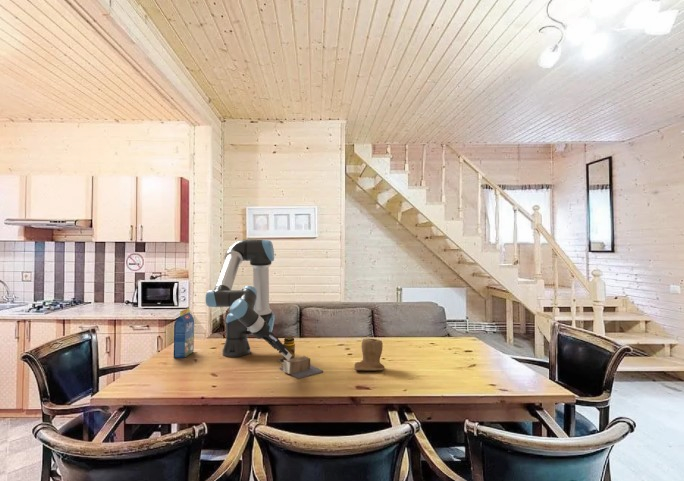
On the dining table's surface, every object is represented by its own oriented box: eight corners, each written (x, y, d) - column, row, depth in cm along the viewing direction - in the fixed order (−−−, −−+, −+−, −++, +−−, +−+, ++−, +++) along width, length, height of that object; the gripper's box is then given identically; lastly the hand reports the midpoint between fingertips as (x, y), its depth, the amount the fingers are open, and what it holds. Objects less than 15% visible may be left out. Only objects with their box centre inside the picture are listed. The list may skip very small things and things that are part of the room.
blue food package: (173, 358, 191) (174, 311, 192) (182, 351, 203) (183, 307, 204) (184, 358, 191) (185, 311, 192) (193, 351, 203) (194, 307, 204)
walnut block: (283, 360, 170) (304, 355, 177) (283, 371, 170) (304, 366, 177) (289, 363, 166) (310, 358, 174) (288, 374, 166) (310, 368, 173)
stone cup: (382, 365, 182) (382, 335, 183) (385, 373, 170) (386, 341, 171) (353, 365, 182) (353, 335, 182) (354, 373, 170) (354, 341, 170)
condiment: (297, 361, 187) (297, 338, 187) (282, 364, 182) (282, 340, 183) (291, 358, 193) (291, 335, 193) (276, 360, 188) (277, 337, 189)
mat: (279, 368, 175) (279, 367, 175) (303, 363, 184) (303, 361, 184) (298, 378, 162) (298, 376, 162) (323, 372, 171) (323, 370, 171)
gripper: (246, 330, 162) (277, 360, 172) (259, 336, 152) (292, 367, 162) (256, 317, 165) (287, 347, 176) (270, 322, 156) (302, 353, 166)
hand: (289, 357), depth 169 cm, fingers closed
